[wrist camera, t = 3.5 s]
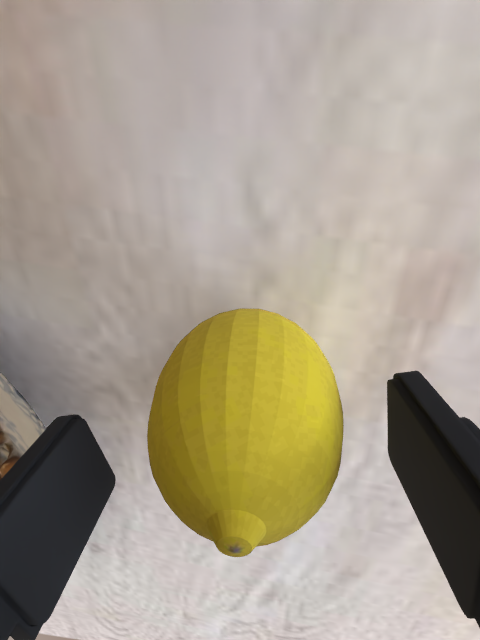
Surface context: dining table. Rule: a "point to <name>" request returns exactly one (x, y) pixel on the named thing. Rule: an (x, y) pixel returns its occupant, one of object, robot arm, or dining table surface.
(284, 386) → the lemon
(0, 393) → the plate of food
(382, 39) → the dining table surface
